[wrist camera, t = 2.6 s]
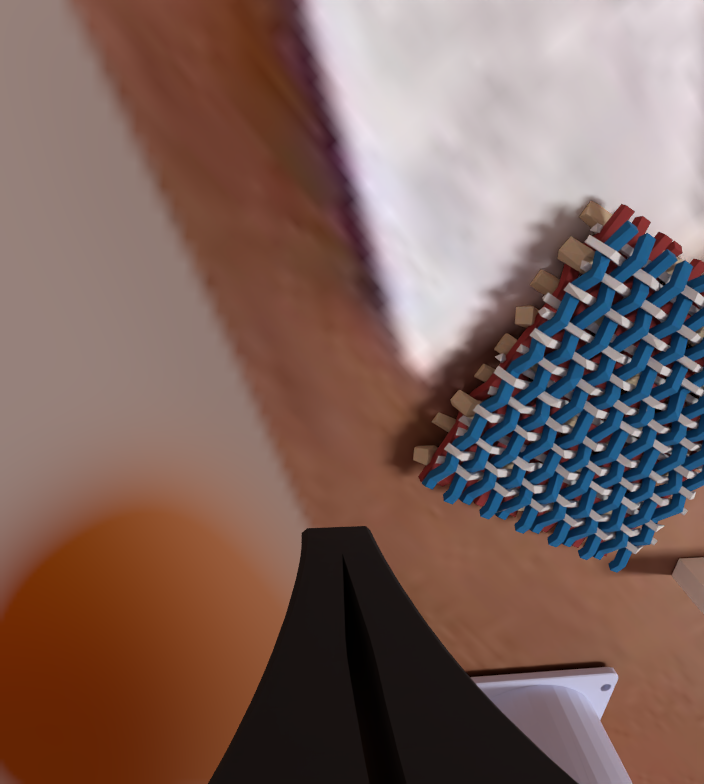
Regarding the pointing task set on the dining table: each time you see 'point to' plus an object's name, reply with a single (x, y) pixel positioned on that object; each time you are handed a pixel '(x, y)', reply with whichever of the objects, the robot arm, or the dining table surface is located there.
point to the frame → (691, 579)
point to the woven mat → (589, 398)
